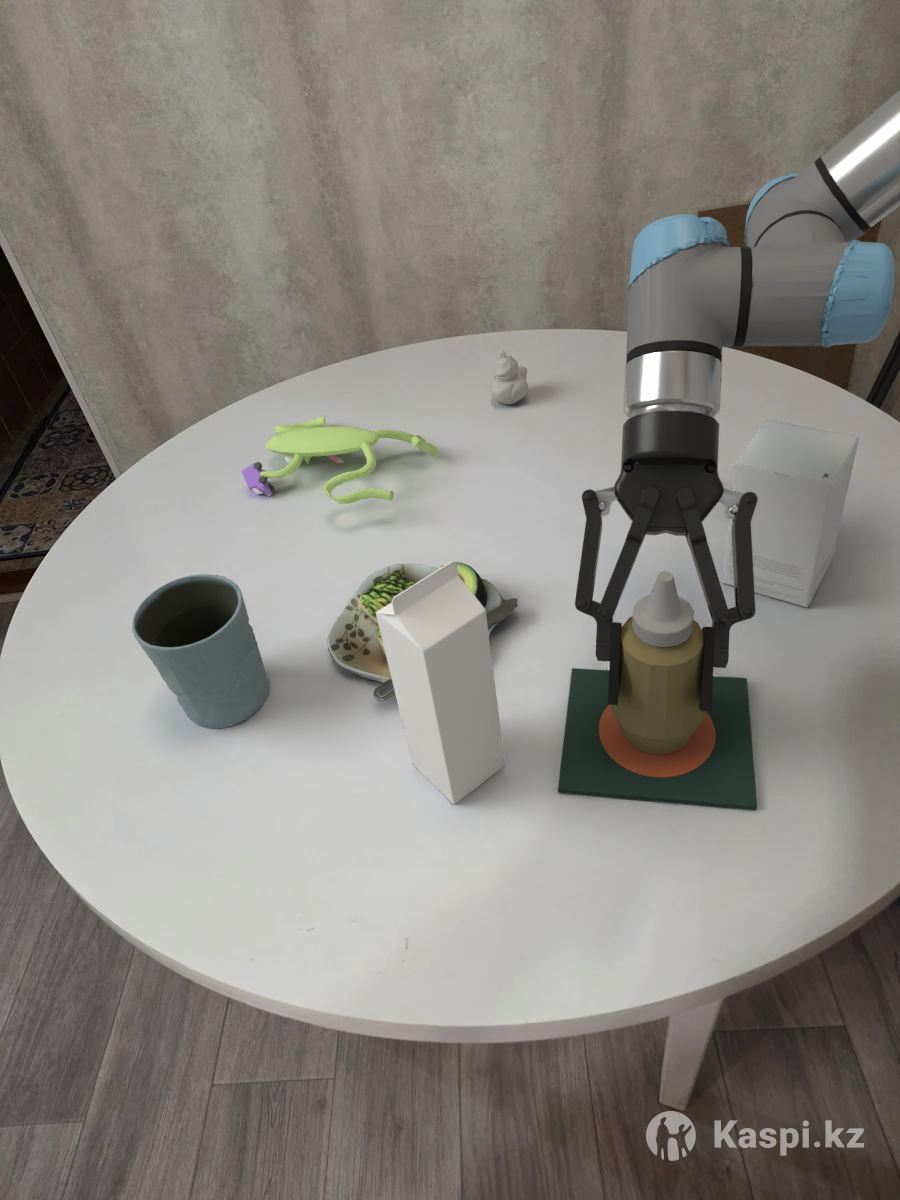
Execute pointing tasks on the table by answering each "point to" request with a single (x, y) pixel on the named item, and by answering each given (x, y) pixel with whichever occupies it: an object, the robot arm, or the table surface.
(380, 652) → the salad plate
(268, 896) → the table surface
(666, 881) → the table surface
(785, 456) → the white product box
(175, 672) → the grey-green cup
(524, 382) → the rubber duck
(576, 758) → the mat
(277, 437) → the figurine
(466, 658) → the milk
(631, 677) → the squeeze bottle
